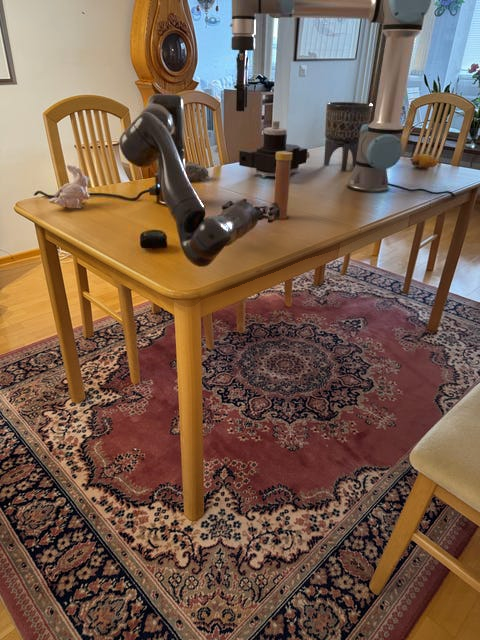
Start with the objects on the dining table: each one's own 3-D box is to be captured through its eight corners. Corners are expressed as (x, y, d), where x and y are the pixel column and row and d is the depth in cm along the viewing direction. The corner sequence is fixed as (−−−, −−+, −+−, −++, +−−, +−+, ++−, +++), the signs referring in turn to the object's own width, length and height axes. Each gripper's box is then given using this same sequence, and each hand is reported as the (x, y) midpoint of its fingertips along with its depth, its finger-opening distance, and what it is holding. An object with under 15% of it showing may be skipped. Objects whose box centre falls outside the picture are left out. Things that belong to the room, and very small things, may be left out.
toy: (412, 161, 206) (406, 154, 219) (414, 175, 209) (408, 167, 222) (438, 153, 203) (431, 147, 216) (440, 167, 206) (432, 160, 219)
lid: (274, 160, 132) (275, 153, 131) (276, 157, 136) (276, 150, 135) (291, 161, 132) (292, 154, 131) (292, 158, 136) (292, 151, 135)
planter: (313, 167, 208) (319, 103, 195) (331, 160, 222) (338, 101, 209) (353, 173, 199) (362, 107, 185) (369, 166, 213) (379, 104, 199)
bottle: (272, 218, 141) (276, 155, 132) (273, 214, 145) (277, 152, 135) (286, 219, 141) (290, 156, 131) (287, 215, 144) (291, 153, 135)
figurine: (99, 203, 151) (94, 164, 145) (61, 214, 140) (53, 172, 134) (83, 199, 155) (77, 161, 149) (45, 209, 144) (37, 168, 138)
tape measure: (140, 252, 115) (139, 238, 113) (141, 242, 120) (140, 229, 119) (167, 251, 116) (166, 237, 114) (167, 241, 121) (166, 228, 120)
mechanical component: (240, 120, 182) (283, 115, 202) (239, 174, 192) (280, 164, 212) (283, 126, 170) (325, 120, 190) (280, 183, 180) (320, 171, 200)
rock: (201, 174, 189) (200, 158, 186) (213, 179, 184) (213, 162, 180) (174, 179, 182) (173, 162, 178) (186, 184, 176) (186, 167, 173)
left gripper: (210, 232, 112) (235, 214, 125) (264, 240, 108) (285, 221, 121) (209, 201, 109) (236, 187, 122) (265, 209, 104) (286, 193, 117)
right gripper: (234, 37, 155) (234, 105, 166) (227, 34, 134) (227, 112, 144) (256, 37, 155) (254, 106, 165) (253, 34, 133) (250, 113, 144)
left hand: (260, 204), depth 121 cm, fingers open, 8 cm apart
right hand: (241, 109), depth 155 cm, fingers open, 13 cm apart
